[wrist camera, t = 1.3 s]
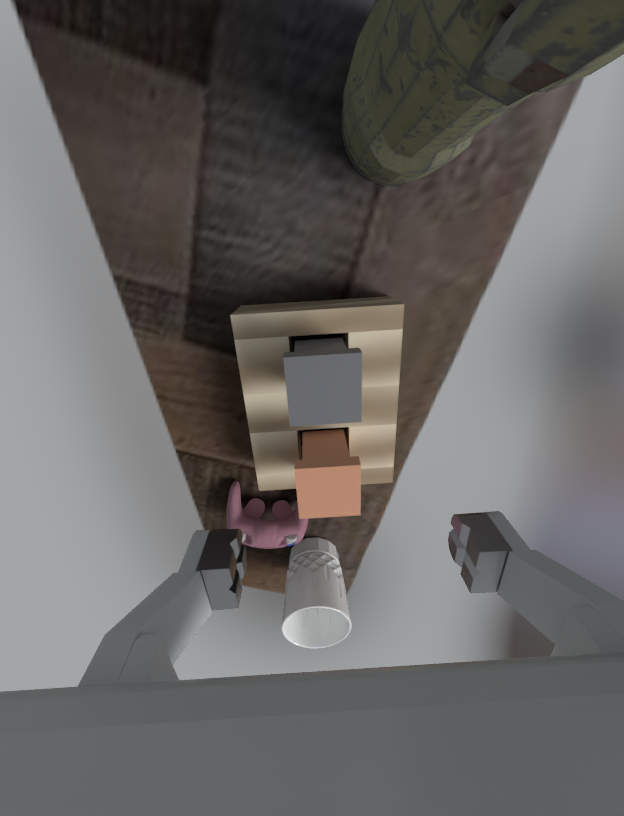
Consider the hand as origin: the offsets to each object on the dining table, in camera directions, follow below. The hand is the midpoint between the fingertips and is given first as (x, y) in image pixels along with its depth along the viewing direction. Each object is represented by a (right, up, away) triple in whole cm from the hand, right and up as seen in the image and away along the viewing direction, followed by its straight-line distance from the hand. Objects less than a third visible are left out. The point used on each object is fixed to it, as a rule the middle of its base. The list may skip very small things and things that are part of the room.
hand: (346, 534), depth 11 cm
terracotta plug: (0, 0, +21) cm, 21 cm away
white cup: (-1, -16, +34) cm, 38 cm away
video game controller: (-7, -7, +30) cm, 31 cm away
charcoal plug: (-1, +8, +17) cm, 19 cm away
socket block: (0, +6, +23) cm, 24 cm away
